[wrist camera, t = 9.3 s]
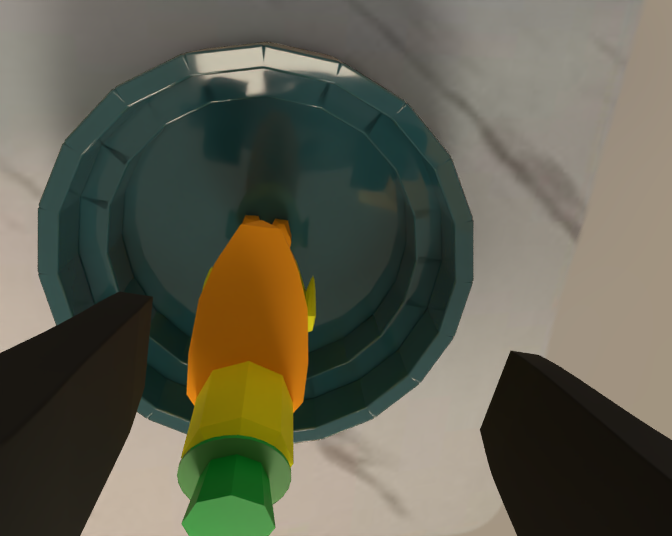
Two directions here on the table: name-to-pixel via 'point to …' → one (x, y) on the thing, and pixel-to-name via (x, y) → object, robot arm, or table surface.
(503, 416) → the robot arm
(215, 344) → the toy figure
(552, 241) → the table surface
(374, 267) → the glazed bowl
